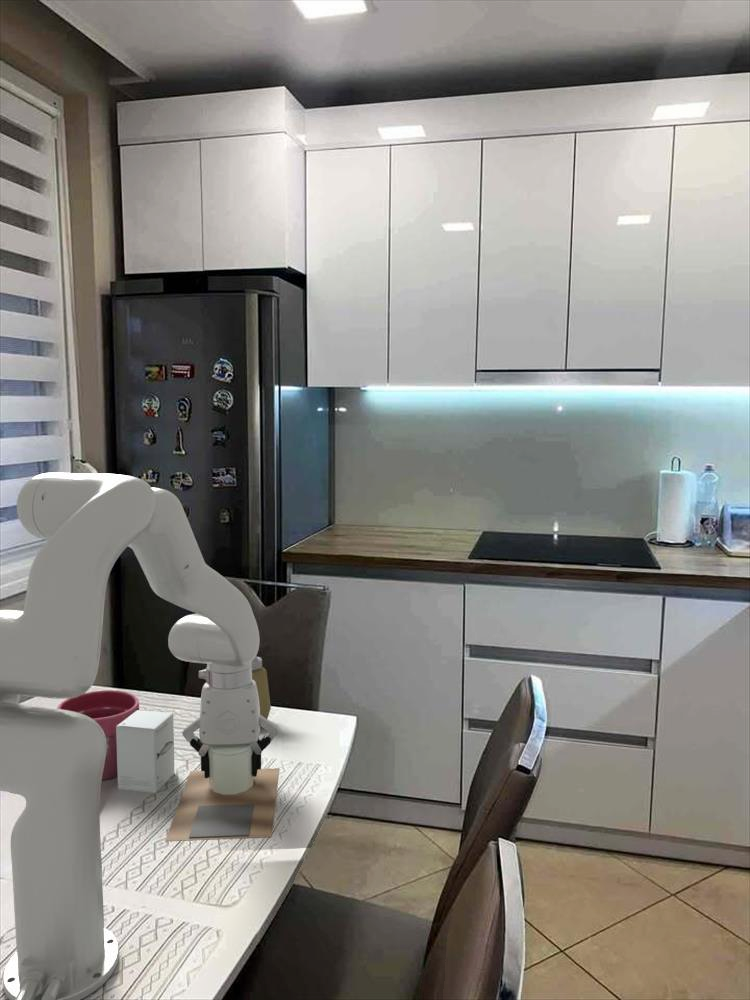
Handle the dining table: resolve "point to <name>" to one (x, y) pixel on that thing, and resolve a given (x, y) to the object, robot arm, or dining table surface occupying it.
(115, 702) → the plant pot
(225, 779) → the sage cup
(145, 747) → the supplement box
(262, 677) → the squeeze bottle
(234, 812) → the tan flat board
